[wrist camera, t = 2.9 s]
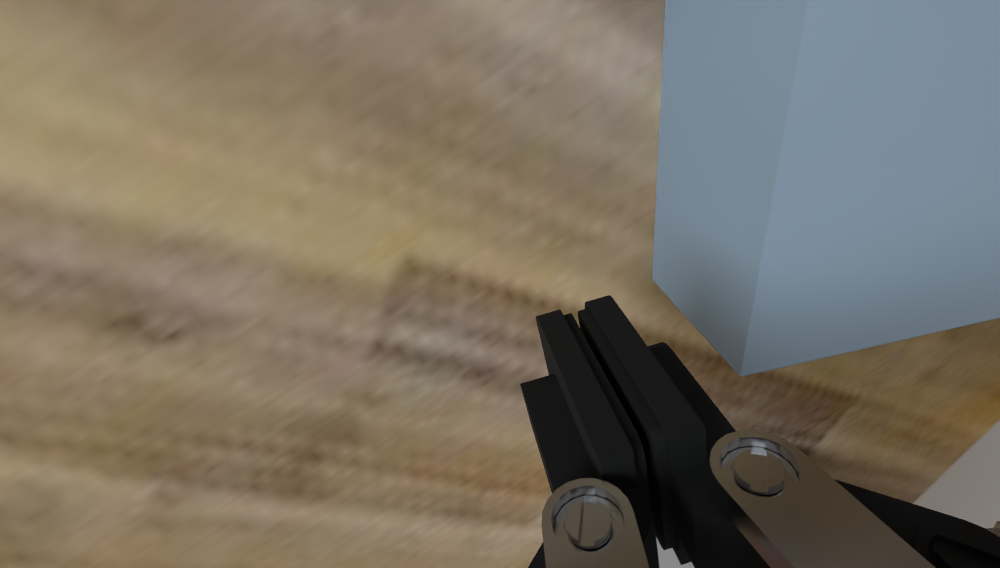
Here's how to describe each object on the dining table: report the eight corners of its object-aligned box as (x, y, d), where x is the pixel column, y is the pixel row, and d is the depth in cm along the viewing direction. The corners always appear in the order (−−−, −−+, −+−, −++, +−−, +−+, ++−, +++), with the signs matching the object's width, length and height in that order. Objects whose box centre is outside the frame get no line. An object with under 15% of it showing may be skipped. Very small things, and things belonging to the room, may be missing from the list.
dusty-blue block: (663, -21, 14) (812, -27, 9) (972, -66, 15) (1262, -94, 10) (649, 276, 20) (739, 377, 14) (880, 229, 20) (1041, 307, 15)
